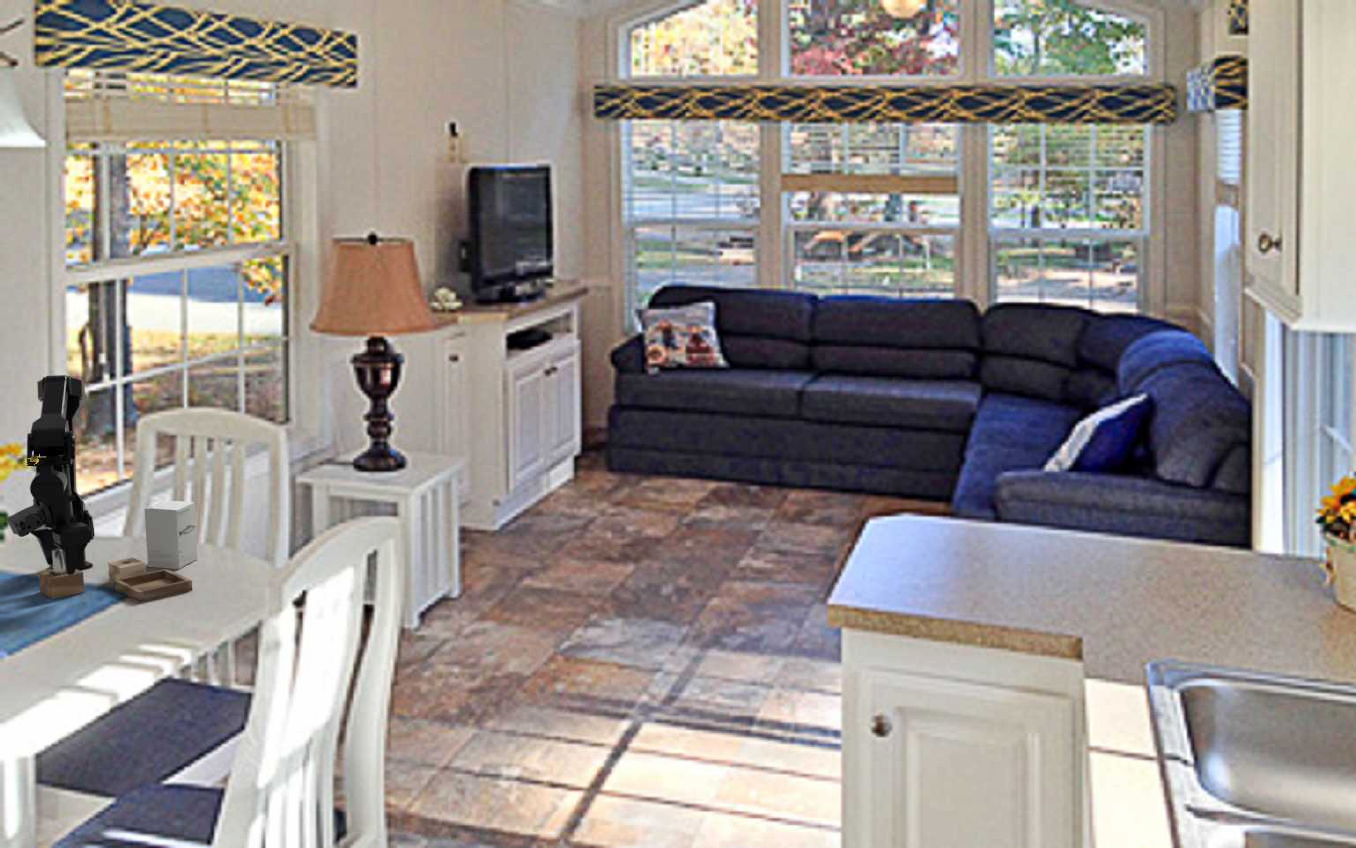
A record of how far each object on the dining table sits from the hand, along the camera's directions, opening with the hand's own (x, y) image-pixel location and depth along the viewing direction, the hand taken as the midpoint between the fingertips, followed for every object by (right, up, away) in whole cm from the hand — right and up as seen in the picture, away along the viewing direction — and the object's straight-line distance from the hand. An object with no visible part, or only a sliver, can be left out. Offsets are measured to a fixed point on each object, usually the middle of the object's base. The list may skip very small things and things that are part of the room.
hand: (60, 569), depth 260 cm
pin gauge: (0, -5, +1) cm, 5 cm away
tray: (+17, -4, +3) cm, 18 cm away
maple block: (+10, -3, +8) cm, 13 cm away
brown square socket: (0, -5, +1) cm, 5 cm away
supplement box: (+14, -1, +20) cm, 25 cm away
